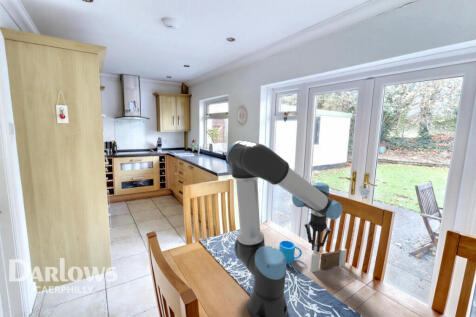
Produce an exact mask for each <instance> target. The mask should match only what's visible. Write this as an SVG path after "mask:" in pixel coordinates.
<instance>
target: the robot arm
mask: <svg viewBox="0 0 476 317" xmlns="http://www.w3.org/2000/svg"><path fill="white" fill-rule="evenodd" d="M225 159H226V162H227V164H228V166H230V167H231V177H232V178H233V179H234V180H235V181H236V182H235V183H236V195H237V196H236V198H237V208H238V209H237V210H238V221H239V232H238V234H237V235H236V240H234V243H233V250H234V253H235V256H236V257H237V259H238V260H239V261H240V262H241V263H242V264H243V266H244V267H245V268H246V269H247V270H248V272H249V273H250V274H251V275H252V276H253V289H252V291H251V293H250V296H249V298H248V303H247V304H248V305H247V310H248V313H249V315H250V317H286V316H287V317H288V303H287V301H286V296H285V286H286V278H287V277H286V276H287V274H286V273H287V263H286V259H285V256H284V255H283V253H282V252H281V251H280V250H279V249H278V248H276V247H273V246H271V245H266V244H265V242H266V241H265V234H264V232H263V231H262V230H261V218H260V204H259V203H260V202H259V200H260V199H259V185H258V179H262V180H264V181H266V182H268V183H269V184H271V185H275V186H276V185H277V186H279V187H281V188H282V189H283V190H285V191H287V192H288V193H289V194H291V195H292V196H291V199H292V201H291V202H292V203H293V205H294V206H295V207H297V208H308V209H309V210H310V212H311V213H310V221H309V222H306V223H305V224H304V227H305V230H306V236H307V240H308V241H307V242H308V243H309V244H311V251H313V252H312V254H314V253H320V250H321V247H322V248H323V247H324V246H325V244H326V241H327V238H328V236H329V234H331V231H332V229H331V228H330V227H328V224H327V218H328V219H330V220H337V219H339V218H340V217H341V215H342V213H343V205H342V204H341V203H340V202H338V201H337V200H333V199H332V198H330V196H329V195H330V185H329V184H327V183H324V182H314V183H313V184H312V183H310V182H309V181H307V180H306V179H305V178H303V177H302V176H301V175H300V174H298V173H297V172H296V171H295V170H293V169H292V168H291V167H290V165H289V164H290V163H288V161H286V160H285V159H284V158H282V156H280V155H278V154H277V153H276V152H275V151H274V150H272V149H271V148H270V147H268V146H266V145H264V144H262V143H256V142H251V141H248V140H238V141H235V142H233V143H232V144H230V146H229V147H228V149H227V150H226V156H225ZM310 227H311V228H310ZM311 229H312V232H311ZM324 230H325V234H324V236H323V239H322V233H323V231H324ZM316 239H317V241H316ZM316 242H317V243H316Z"/></svg>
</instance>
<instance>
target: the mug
mask: <svg viewBox="0 0 476 317" xmlns="http://www.w3.org/2000/svg"><path fill="white" fill-rule="evenodd" d="M296 249H297V250H298V251H299V254H298V255H297V256H295V253H296V252H295V251H296ZM278 250H280V251H281V252H282V253H283V255H284V256H285V259H286V264H292V263H293V262H295V259H296V260H297V259H299V258H301V257H302V253H303V251H302V249H301V248H300V247H298V246H296V244H295V243H294V242H292V241H289V240H281V241H280V242H279V249H278Z"/></svg>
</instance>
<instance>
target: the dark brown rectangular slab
mask: <svg viewBox="0 0 476 317" xmlns="http://www.w3.org/2000/svg"><path fill="white" fill-rule="evenodd" d="M338 253H339V252H338V250H336V251H330V252H323V253H321V254H320V262H319V269H320V270H321V271H322V270H326V269H331V268H338V267H337V262H338Z"/></svg>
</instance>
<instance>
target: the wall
mask: <svg viewBox="0 0 476 317" xmlns="http://www.w3.org/2000/svg"><path fill="white" fill-rule="evenodd" d="M347 251H348V250H347V248H338V250H337V252H339V253H338V262H337V267H336V268H339V267H340V268H341V267H345V265H346V261H347V260H346V259H347ZM320 260H321V254H320V252H318V253H314V254H313V253H311V261H310V262H311V263H310V272H311V273H316V272H318V271H319V269H320Z"/></svg>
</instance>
